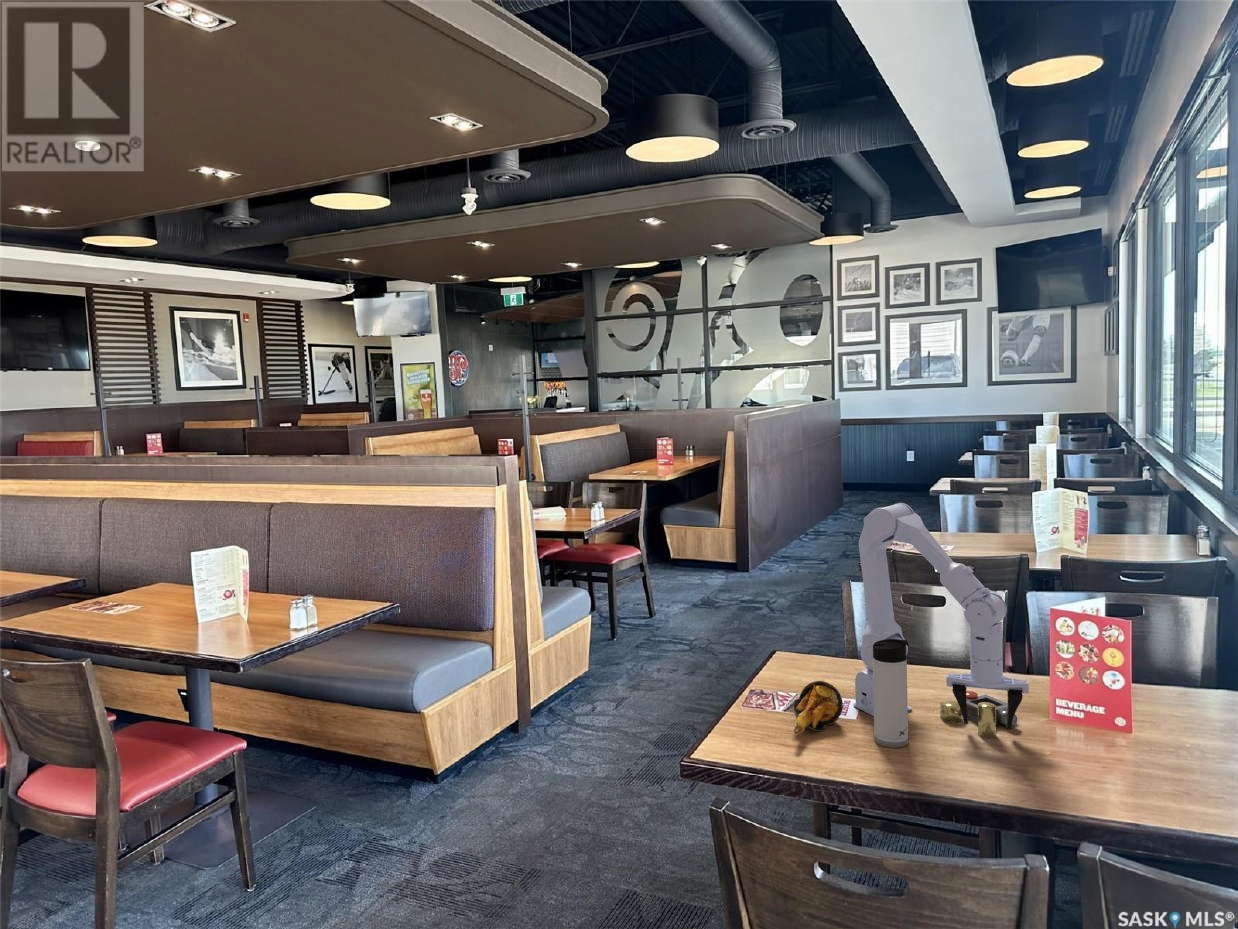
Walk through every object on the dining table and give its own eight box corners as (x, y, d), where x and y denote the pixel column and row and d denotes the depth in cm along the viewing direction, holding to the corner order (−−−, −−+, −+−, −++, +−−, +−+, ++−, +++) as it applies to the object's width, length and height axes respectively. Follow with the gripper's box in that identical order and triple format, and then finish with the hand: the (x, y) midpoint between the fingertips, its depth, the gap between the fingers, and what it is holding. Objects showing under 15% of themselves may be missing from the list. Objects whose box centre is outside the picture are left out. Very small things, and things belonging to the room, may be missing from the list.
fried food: (851, 693, 171) (846, 695, 154) (830, 741, 170) (822, 749, 153) (810, 672, 174) (801, 673, 158) (789, 720, 173) (777, 725, 157)
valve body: (998, 732, 159) (998, 714, 159) (950, 710, 171) (950, 694, 170) (1025, 725, 161) (1025, 708, 161) (976, 704, 173) (976, 688, 173)
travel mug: (912, 749, 153) (910, 646, 152) (876, 747, 155) (874, 645, 153) (907, 735, 159) (905, 636, 158) (872, 734, 161) (870, 635, 159)
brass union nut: (950, 723, 164) (950, 709, 164) (936, 716, 168) (936, 702, 168) (965, 720, 166) (965, 705, 165) (951, 713, 169) (951, 699, 169)
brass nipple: (987, 739, 156) (986, 709, 155) (974, 733, 159) (974, 704, 158) (999, 736, 157) (999, 706, 156) (986, 730, 160) (986, 701, 159)
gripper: (1026, 653, 157) (1027, 721, 158) (946, 647, 163) (947, 712, 164) (1029, 665, 151) (1029, 735, 152) (945, 658, 157) (946, 726, 158)
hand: (987, 724), depth 158 cm, fingers open, 7 cm apart
